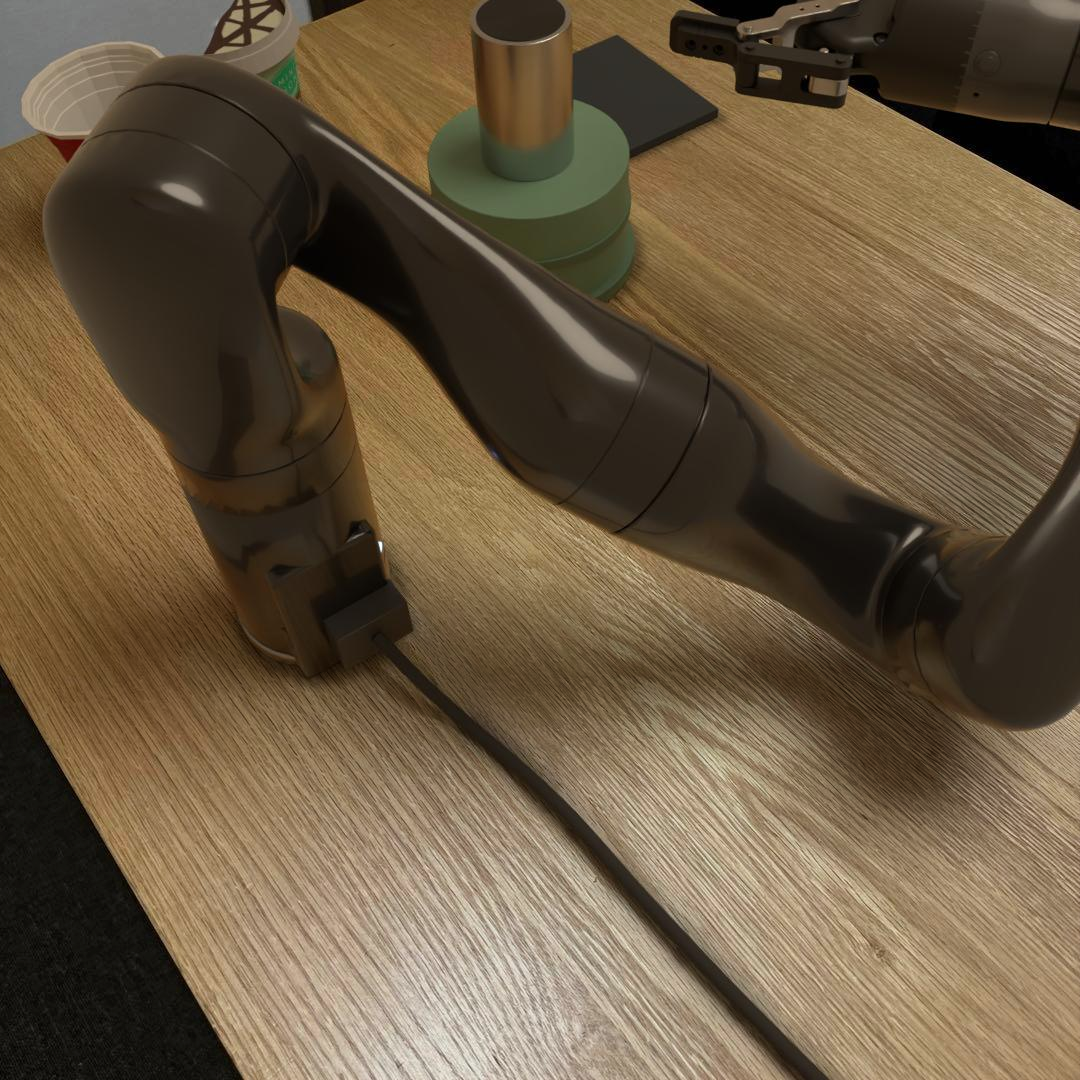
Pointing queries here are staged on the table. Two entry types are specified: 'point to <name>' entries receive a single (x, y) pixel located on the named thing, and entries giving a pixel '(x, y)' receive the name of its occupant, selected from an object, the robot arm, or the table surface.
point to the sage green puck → (548, 200)
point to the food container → (259, 41)
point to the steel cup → (524, 86)
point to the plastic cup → (81, 90)
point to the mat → (637, 94)
